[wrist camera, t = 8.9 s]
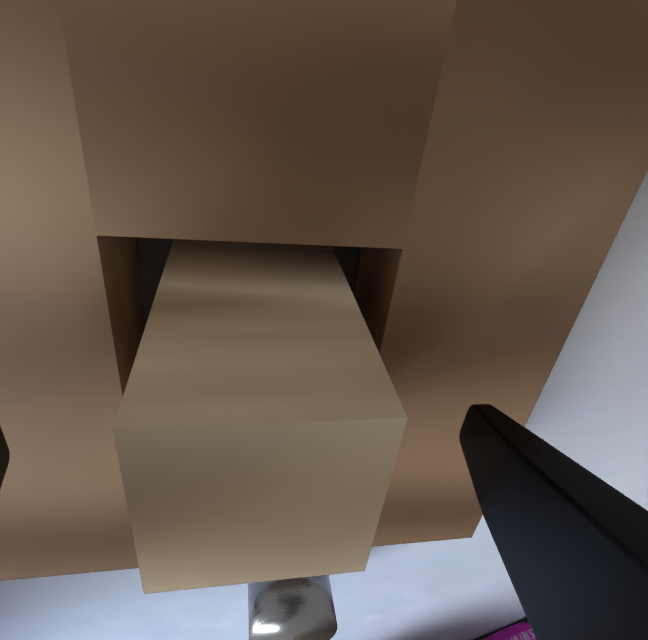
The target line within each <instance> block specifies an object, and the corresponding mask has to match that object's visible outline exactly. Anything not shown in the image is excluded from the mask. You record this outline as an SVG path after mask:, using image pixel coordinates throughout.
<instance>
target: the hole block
mask: <svg viewBox="0 0 648 640" xmlns="http://www.w3.org/2000/svg"><path fill="white" fill-rule="evenodd" d="M647 170H648V0H0V426H1V428H2V431H3V434H4V437H5V439H6V442H7V445H8V448H9V451H10V460H9V464H8V468H7V471H6V474H5V477H4V480H3V483H2V486H1V489H0V581H2V580H13V579H24V578H35V577H46V576H56V575H67V574H78V573H89V572H100V571H111V570H122V569H133V568H139V565H138V560H137V554H136V549H135V544H134V539H133V534H132V528H131V523H130V518H129V513H128V507H127V502H126V497H125V492H124V486H123V481H122V476H121V471H120V465H119V460H118V455H117V450H116V444H115V439H114V434H113V426H114V423H115V420H116V417H117V413H118V410H119V407H120V404H121V401H122V398H123V395H124V392H125V389H126V385H127V382H128V379H129V376H130V373H131V370H132V367H133V364H134V361H135V357H136V354H137V351H138V348H139V345H140V342H141V339H142V336H143V333H144V329H145V319H144V311H143V302H142V293H141V285H140V276H139V267H138V259H137V250H136V241H135V237H141V238H164V239H187V240H210V241H233V242H256V243H279V244H302V245H325V246H348V247H361V251H360V257H359V263H358V269H357V275H356V281H355V288H354V294H353V295H354V298H355V300H356V302H357V305H358V307H359V309H360V311H361V314H362V316H363V318H364V320H365V323H366V325H367V327H368V329H369V332H370V334H371V336H372V338H373V341H374V343H375V345H376V347H377V350H378V352H379V354H380V357H381V359H382V361H383V363H384V366H385V368H386V370H387V372H388V375H389V377H390V379H391V381H392V384H393V386H394V388H395V390H396V393H397V395H398V397H399V399H400V402H401V404H402V406H403V409H404V411H405V413H406V415H407V418H408V419H407V423H406V426H405V430H404V433H403V437H402V440H401V444H400V447H399V451H398V454H397V458H396V462H395V465H394V469H393V472H392V476H391V479H390V483H389V486H388V490H387V493H386V497H385V501H384V504H383V508H382V511H381V515H380V518H379V522H378V525H377V529H376V533H375V536H374V540H373V543H372V547H373V546H384V545H395V544H405V543H416V542H427V541H438V540H449V539H460V538H471V537H472V536H473V534H474V531H475V529H476V527H477V525H478V523H479V521H480V519H481V517H482V515H483V513H482V510H481V508H480V505H479V502H478V499H477V496H476V493H475V490H474V486H473V483H472V480H471V477H470V474H469V470H468V467H467V464H466V461H465V457H464V454H463V451H462V448H461V445H460V440H459V433H460V429H461V426H462V424H463V421H464V418H465V416H466V413H467V410H468V408H469V407H470V406H471V405H473V404H490V405H492V406H494V407H495V408H497V409H498V410H500V411H501V412H503V413H504V414H506V415H507V416H509V417H510V418H512V419H513V420H515V421H516V422H518V423H519V424H520V425H522V426H523V427H525V425H526V423H527V421H528V419H529V417H530V414H531V412H532V410H533V408H534V406H535V404H536V402H537V400H538V398H539V396H540V394H541V391H542V389H543V387H544V385H545V383H546V381H547V379H548V377H549V375H550V373H551V371H552V368H553V366H554V364H555V362H556V360H557V358H558V356H559V354H560V352H561V350H562V348H563V345H564V343H565V341H566V339H567V337H568V335H569V333H570V331H571V329H572V327H573V325H574V322H575V320H576V318H577V316H578V314H579V312H580V310H581V308H582V306H583V304H584V302H585V299H586V297H587V295H588V293H589V291H590V289H591V287H592V285H593V283H594V281H595V279H596V276H597V274H598V272H599V270H600V268H601V266H602V264H603V262H604V260H605V258H606V256H607V254H608V251H609V249H610V247H611V245H612V243H613V241H614V239H615V237H616V235H617V233H618V231H619V228H620V226H621V224H622V222H623V220H624V218H625V216H626V214H627V212H628V210H629V208H630V205H631V203H632V201H633V199H634V197H635V195H636V193H637V191H638V189H639V187H640V185H641V182H642V180H643V178H644V176H645V174H646V172H647Z"/></svg>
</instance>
